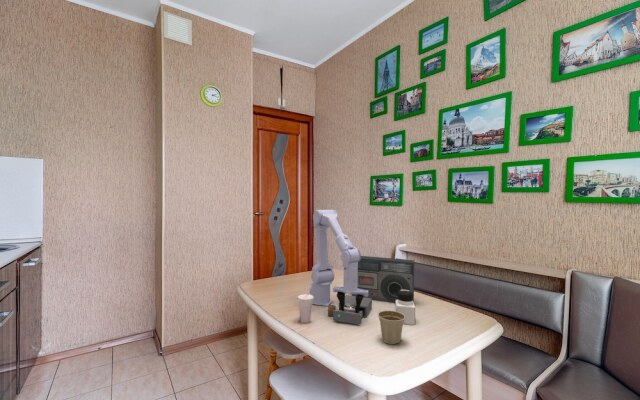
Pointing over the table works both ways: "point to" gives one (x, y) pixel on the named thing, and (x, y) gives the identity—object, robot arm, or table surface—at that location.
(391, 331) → the flower pot
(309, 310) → the smoothie
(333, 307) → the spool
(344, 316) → the tray
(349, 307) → the disc
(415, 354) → the table surface
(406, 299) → the medicine bottle
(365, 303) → the disc
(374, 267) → the cassette player
